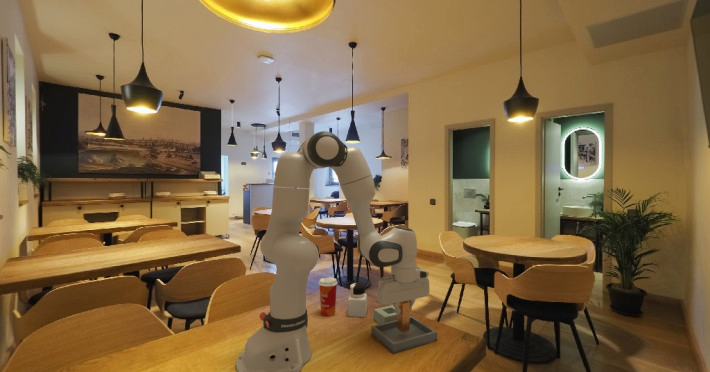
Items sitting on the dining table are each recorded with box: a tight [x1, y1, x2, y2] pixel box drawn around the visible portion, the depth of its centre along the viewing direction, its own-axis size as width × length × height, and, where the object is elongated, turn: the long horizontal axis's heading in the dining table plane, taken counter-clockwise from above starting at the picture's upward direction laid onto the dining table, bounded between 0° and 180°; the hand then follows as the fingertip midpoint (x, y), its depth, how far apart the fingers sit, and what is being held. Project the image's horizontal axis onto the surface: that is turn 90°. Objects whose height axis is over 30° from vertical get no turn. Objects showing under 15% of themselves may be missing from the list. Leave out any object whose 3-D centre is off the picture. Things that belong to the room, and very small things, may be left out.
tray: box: [370, 315, 438, 355], centre depth 113 cm, size 18×14×3 cm
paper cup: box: [318, 276, 338, 318], centre depth 132 cm, size 8×8×14 cm
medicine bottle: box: [347, 282, 368, 318], centre depth 132 cm, size 7×7×12 cm
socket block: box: [373, 304, 397, 324], centre depth 125 cm, size 10×8×4 cm
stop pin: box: [397, 300, 411, 333], centre depth 112 cm, size 3×3×10 cm
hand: (403, 312), depth 112 cm, fingers closed on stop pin, 3 cm apart
